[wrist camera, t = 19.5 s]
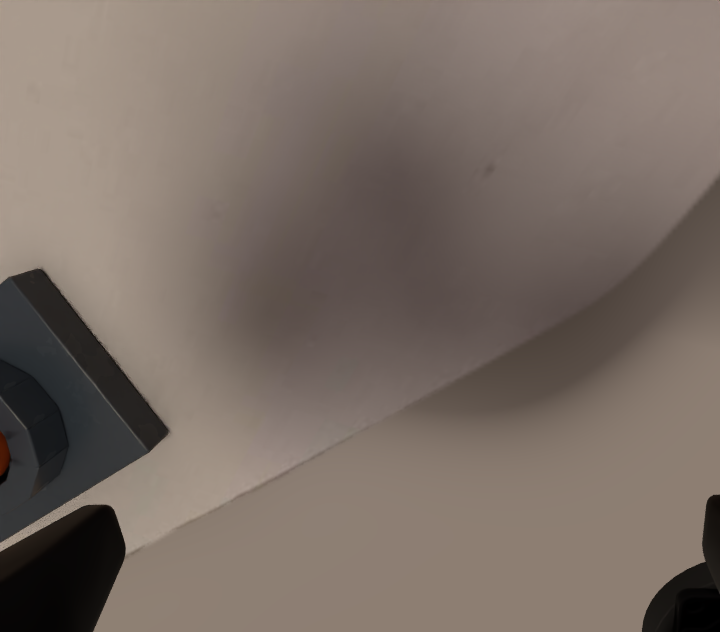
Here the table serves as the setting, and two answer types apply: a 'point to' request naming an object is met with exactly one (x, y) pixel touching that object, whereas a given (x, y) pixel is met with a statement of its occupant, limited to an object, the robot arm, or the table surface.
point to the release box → (60, 405)
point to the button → (4, 454)
